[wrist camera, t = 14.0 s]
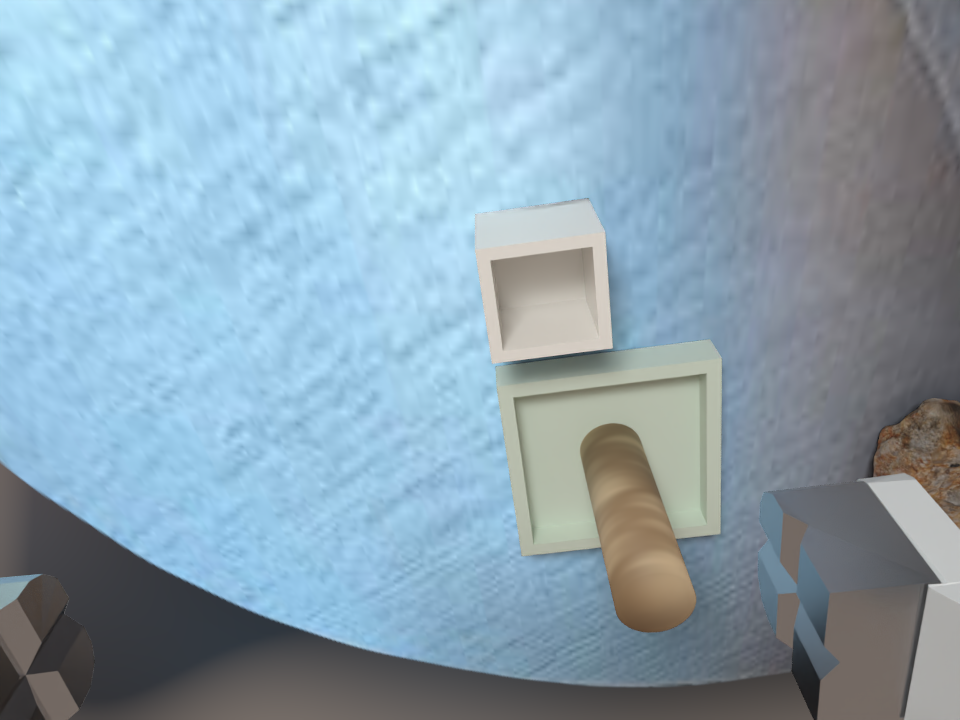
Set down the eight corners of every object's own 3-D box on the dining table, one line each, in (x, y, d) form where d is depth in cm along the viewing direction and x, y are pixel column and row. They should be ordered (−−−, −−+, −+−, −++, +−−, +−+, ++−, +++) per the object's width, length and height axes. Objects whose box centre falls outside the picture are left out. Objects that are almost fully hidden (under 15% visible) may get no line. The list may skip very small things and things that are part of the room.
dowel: (640, 419, 43) (695, 568, 33) (642, 469, 45) (696, 627, 35) (577, 427, 44) (612, 578, 33) (582, 477, 45) (617, 636, 35)
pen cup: (588, 198, 38) (605, 232, 33) (596, 302, 41) (612, 348, 36) (474, 213, 39) (475, 249, 34) (489, 316, 41) (492, 363, 36)
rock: (878, 386, 44) (841, 540, 47) (965, 424, 39) (918, 595, 41) (992, 384, 46) (951, 530, 49) (1089, 419, 41) (1037, 581, 44)
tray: (709, 339, 42) (721, 358, 40) (709, 509, 48) (720, 533, 46) (495, 366, 43) (496, 386, 41) (519, 531, 48) (521, 556, 46)
